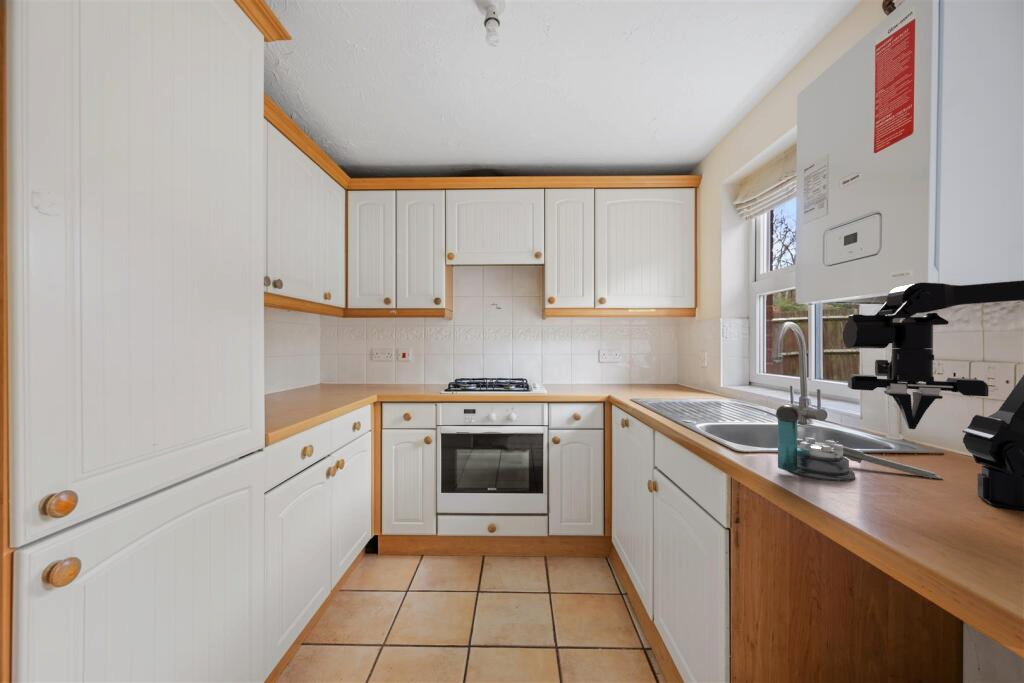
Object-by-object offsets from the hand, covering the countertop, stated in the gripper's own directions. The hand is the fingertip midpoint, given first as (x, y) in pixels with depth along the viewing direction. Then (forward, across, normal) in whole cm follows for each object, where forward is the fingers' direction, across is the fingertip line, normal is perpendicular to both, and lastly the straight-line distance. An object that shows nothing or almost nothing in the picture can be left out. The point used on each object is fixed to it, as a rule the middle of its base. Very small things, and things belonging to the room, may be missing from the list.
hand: (911, 428), depth 79 cm
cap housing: (+13, +14, -8) cm, 21 cm away
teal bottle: (+11, +16, -5) cm, 21 cm away
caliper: (+14, +2, -17) cm, 22 cm away
